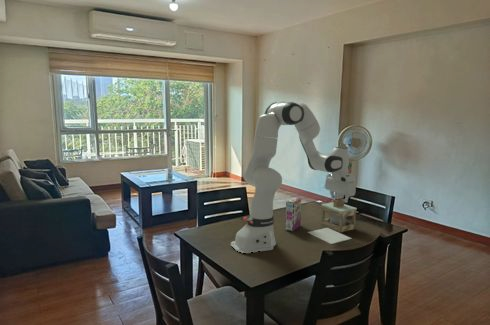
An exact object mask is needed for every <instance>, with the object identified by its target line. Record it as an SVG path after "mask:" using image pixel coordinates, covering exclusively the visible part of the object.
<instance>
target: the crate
mask: <svg viewBox="0 0 490 325" xmlns="http://www.w3.org/2000/svg"><path fill="white" fill-rule="evenodd" d="M326 213H327V214H329V215H331V214H332V215H335V216H337V217H339V226H337V225H335V224H333V223H330V221H331V217H328V218H326V217H325V216H326ZM356 214H357V210H354V211H349V212H344V213H339V212H336V211H334V210H331V209H328V208H325V207H323V206H321V224H320V225H322V226H324V227H325V228H329V229H332V230H334V231H336V232H338V233H341V234H342V233H344V232H348V231H351V230H352V231H353V230H355V229H356ZM343 217H346V218H347V217H352V218H351V222H350V221H349V220H346V226H342V218H343Z"/></svg>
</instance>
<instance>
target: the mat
mask: <svg viewBox="0 0 490 325" xmlns="http://www.w3.org/2000/svg"><path fill="white" fill-rule="evenodd" d="M307 234H310V235H311V236H313V237H315V238H317V239H318V240H322V241H324V243H325V242H326V243H327V244H329V245H333V244H337V243H342V242H345V241H349V240H352V237H350V236H347V235H346V234H343V233H342V232H341V233H340V232H338V231H336V230H333V229H331V228H329V227H324V228H319V229H314V230H311V231H307Z"/></svg>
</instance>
